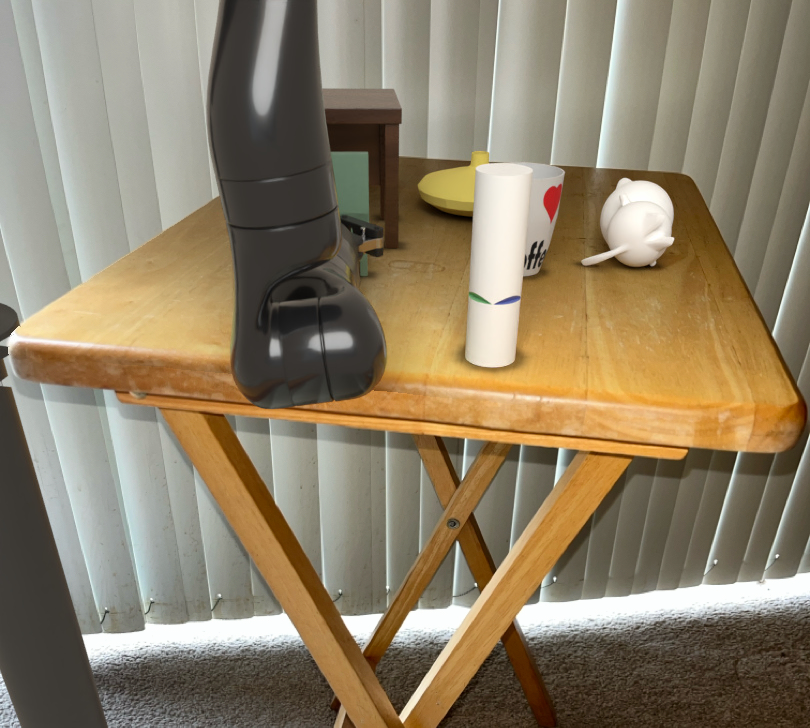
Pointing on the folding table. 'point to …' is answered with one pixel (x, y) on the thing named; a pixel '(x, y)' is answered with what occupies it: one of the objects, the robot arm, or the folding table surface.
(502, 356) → the tube
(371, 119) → the desk
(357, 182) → the chair
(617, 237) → the cat figurine
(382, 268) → the folding table surface
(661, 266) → the folding table surface
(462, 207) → the vase
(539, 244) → the cup
